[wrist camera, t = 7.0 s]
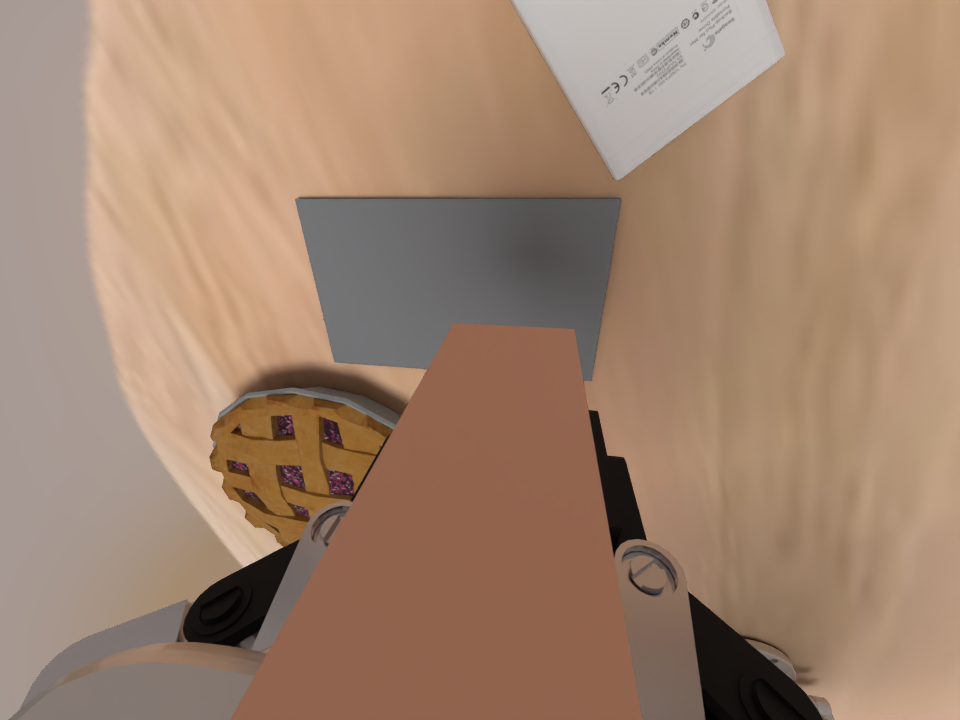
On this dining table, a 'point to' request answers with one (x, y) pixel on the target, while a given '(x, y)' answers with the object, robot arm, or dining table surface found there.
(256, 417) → the pie
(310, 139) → the dining table surface
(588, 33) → the external hard drive
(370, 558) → the block
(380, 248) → the mat
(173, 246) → the dining table surface
